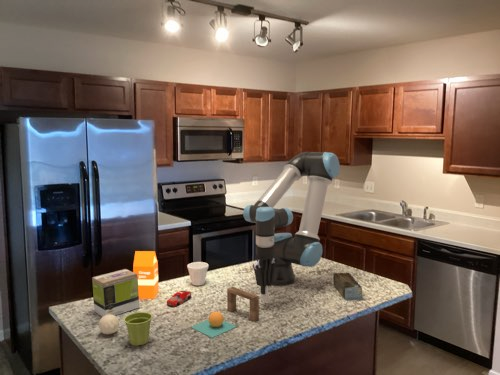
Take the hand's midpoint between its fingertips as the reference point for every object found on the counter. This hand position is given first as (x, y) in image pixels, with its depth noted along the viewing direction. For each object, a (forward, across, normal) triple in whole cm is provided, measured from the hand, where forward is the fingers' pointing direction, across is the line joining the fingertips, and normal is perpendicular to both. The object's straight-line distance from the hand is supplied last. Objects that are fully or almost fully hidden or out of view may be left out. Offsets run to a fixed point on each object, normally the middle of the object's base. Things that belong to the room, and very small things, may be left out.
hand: (265, 300), depth 175 cm
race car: (+3, -22, +29) cm, 37 cm away
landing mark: (+2, -28, 0) cm, 28 cm away
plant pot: (+2, -53, +10) cm, 54 cm away
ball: (-1, -27, 0) cm, 27 cm away
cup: (+2, -3, +40) cm, 40 cm away
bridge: (+2, -13, 0) cm, 13 cm away
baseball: (+2, -57, +23) cm, 62 cm away
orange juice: (+2, -28, +45) cm, 53 cm away
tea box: (+2, -45, +40) cm, 60 cm away
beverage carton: (+3, +36, -17) cm, 40 cm away
